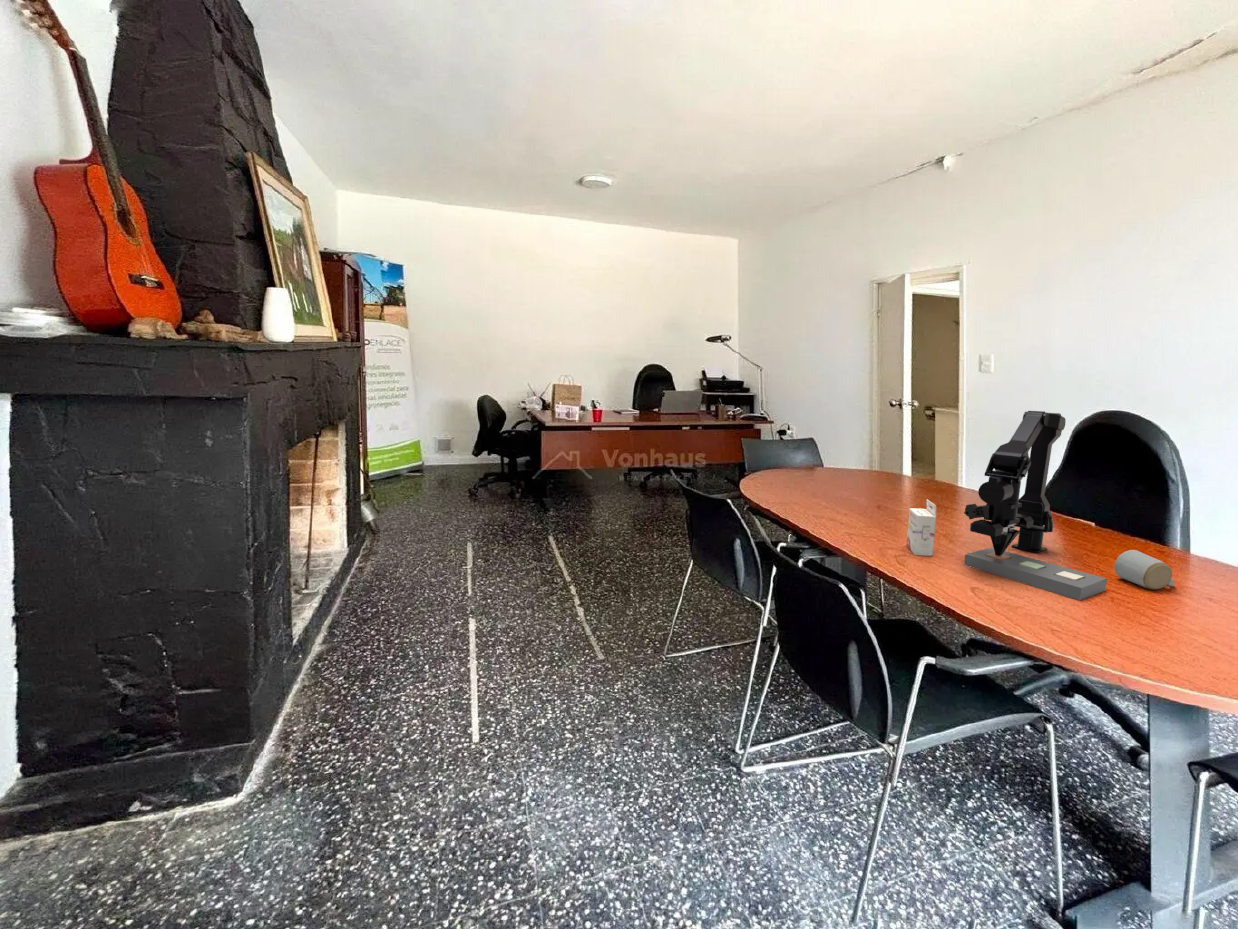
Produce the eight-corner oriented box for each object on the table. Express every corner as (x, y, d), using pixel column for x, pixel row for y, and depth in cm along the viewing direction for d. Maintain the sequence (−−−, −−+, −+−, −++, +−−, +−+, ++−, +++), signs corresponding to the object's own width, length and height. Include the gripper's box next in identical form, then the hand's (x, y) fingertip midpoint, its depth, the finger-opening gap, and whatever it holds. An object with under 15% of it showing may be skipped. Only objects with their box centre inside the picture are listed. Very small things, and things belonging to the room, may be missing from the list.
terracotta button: (993, 560, 149) (994, 551, 148) (1009, 565, 145) (1010, 556, 145) (984, 563, 147) (985, 554, 147) (1000, 568, 144) (1002, 558, 143)
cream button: (1062, 580, 135) (1063, 571, 134) (1082, 586, 131) (1083, 576, 131) (1053, 583, 133) (1055, 573, 133) (1073, 589, 130) (1075, 579, 129)
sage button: (1026, 570, 142) (1027, 561, 141) (1043, 575, 138) (1045, 565, 138) (1017, 573, 140) (1018, 563, 140) (1035, 578, 137) (1036, 568, 136)
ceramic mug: (1143, 591, 130) (1149, 560, 129) (1111, 578, 138) (1116, 549, 137) (1185, 591, 131) (1191, 560, 129) (1150, 578, 139) (1156, 549, 137)
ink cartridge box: (905, 545, 164) (909, 497, 161) (923, 546, 163) (927, 498, 160) (914, 555, 156) (919, 504, 153) (933, 556, 155) (938, 505, 152)
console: (990, 557, 153) (991, 547, 153) (1105, 590, 131) (1107, 578, 130) (964, 564, 148) (965, 554, 147) (1079, 600, 125) (1081, 588, 125)
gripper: (993, 488, 154) (986, 541, 157) (952, 495, 146) (946, 552, 149) (1037, 496, 145) (1030, 553, 147) (997, 505, 136) (990, 565, 139)
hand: (998, 555), depth 146 cm, fingers closed, pressing on terracotta button
